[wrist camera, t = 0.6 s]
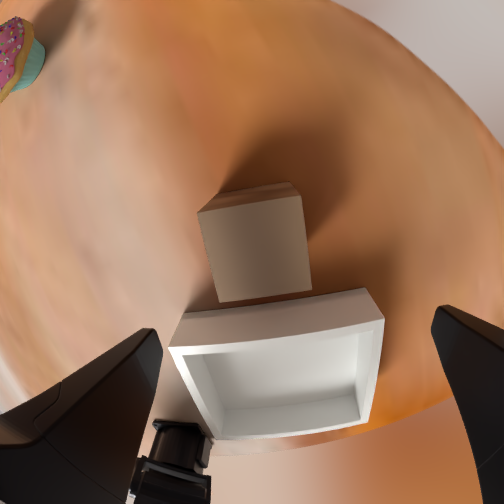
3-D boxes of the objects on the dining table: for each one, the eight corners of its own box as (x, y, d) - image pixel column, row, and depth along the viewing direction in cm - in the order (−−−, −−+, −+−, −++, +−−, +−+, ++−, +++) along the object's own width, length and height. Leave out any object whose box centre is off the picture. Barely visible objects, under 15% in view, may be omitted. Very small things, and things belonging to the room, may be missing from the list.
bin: (221, 407, 27) (215, 439, 22) (183, 313, 22) (167, 347, 18) (358, 390, 25) (367, 422, 21) (365, 287, 21) (384, 318, 16)
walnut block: (231, 260, 20) (219, 302, 15) (217, 193, 19) (196, 213, 13) (299, 249, 20) (312, 289, 14) (289, 181, 18) (300, 195, 12)
